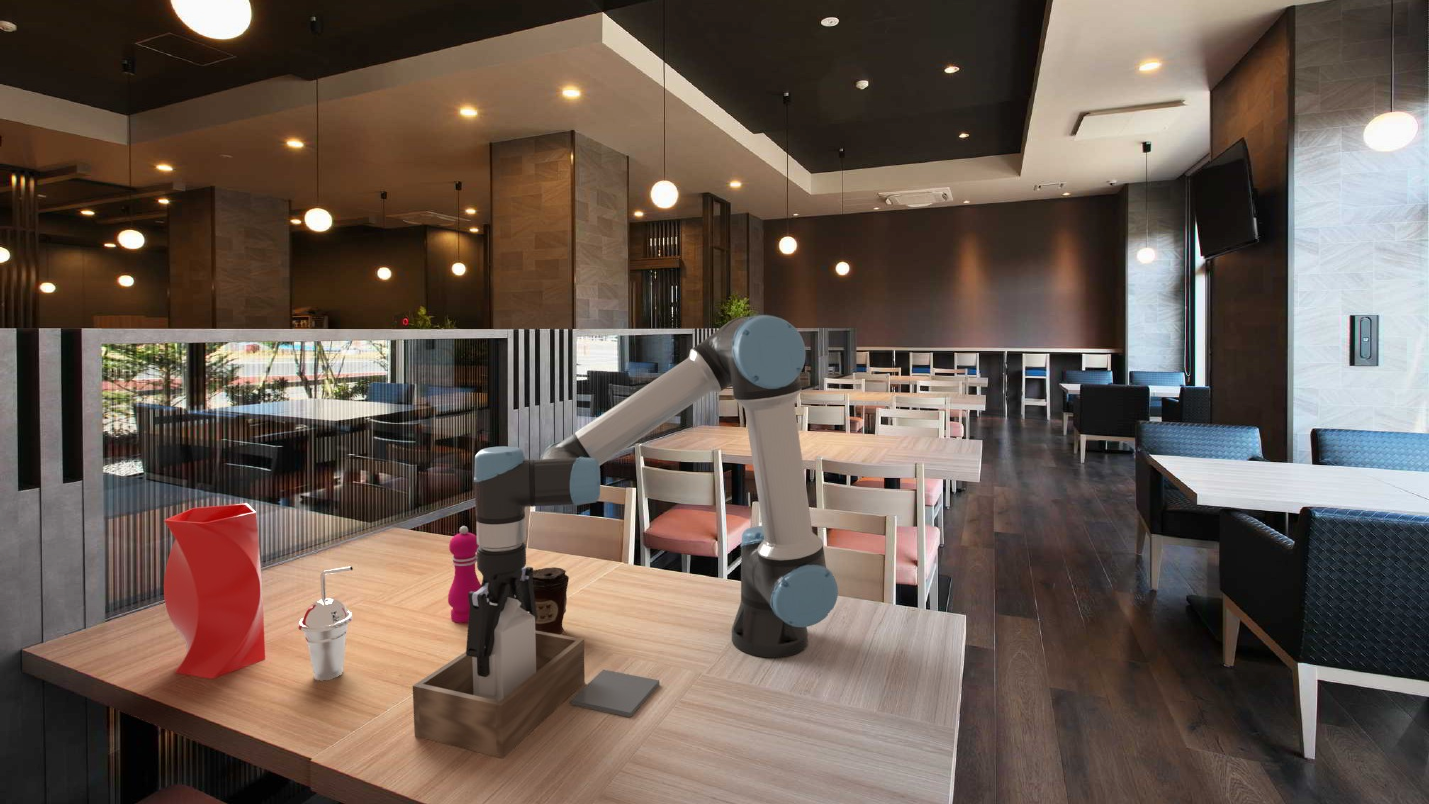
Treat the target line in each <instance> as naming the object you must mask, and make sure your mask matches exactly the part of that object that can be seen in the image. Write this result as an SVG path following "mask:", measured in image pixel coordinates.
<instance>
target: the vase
mask: <svg viewBox="0 0 1429 804" xmlns="http://www.w3.org/2000/svg"><path fill="white" fill-rule="evenodd" d="M163 521H164V523H165V524H166V526H167V528H168V529H169V531H170V532H171V534H172V535H173V537H174V541H173V544H172V546H171V549H170V552H169V556H168V559H167V562H166V567H165V572H164V579H163V598H164V599H163V600H164V604H165V605H164V606H165V609H166V611H167V614H168V618H169V620H170V622H171V623H172V625H173V627H174V628H175V629H176V631H177V632H178V634H179V635H180V636H181V638H182V639H183V640H184V642H185V645H186V653H185V655H184V658H183V659H182V661H181V663H180V664H179V666H178V667H177V668H176V670H175V671H174V673H175V674H180V675H181V674H182V675H187V676H193V677H198V678H199V677H200V678H205V679H210V680H213V679H215V678H218V677H221V676H223V675H227V674H229V673H232V672H234V671H237V670H240V669H243V668H245V667H248V666H251V665H253V664H256V663H259V662H262V661H265V660H266V645H265V643H266V642H265V619H264V601H263V583H262V582H263V580H262V567H261V555H260V553H261V552H260V540H259V530H258V520H257V511H255V509H254V508H252V507H251V505H250V504H249V503H237V504H236V503H235V504H227V505H225V504H224V505H216V506H214V505H213V506H201V507H193V508H190V509H187V510H185V511H183V512H180V513H178V514H176V515H173V516H170V517H168V518H165V519H164V520H163ZM261 660H262V661H261Z"/></svg>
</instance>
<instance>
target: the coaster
mask: <svg viewBox="0 0 1429 804" xmlns="http://www.w3.org/2000/svg"><path fill="white" fill-rule="evenodd" d="M659 686H660V680H659V679H654V678H650V677H649V678H648V677H644V676H638V675H634V674H629V673H624V672H618V671H612V670H608V669H602V670H601V671H599V673H598V674H597V675H595V677H593V679H591V680H590V681H589V682H588V683H587V684H586V685H585V686H584V687H583V688H582V689H581V690H580V691H579V692H577V693H576V694H575V695H574V696H573V697H571V699H570V705H571V706H576V707H580V708H585V709H589V710H595V711H598V712H604V713H609V714H613V715H617V716H622V717H628V718H632V717H633V715H634V714H635V713H636V712H637V711H638V709H640V708H641V706H642V705H643V704H644V703H645V701H647V699H649V697H650V696H651V695H652V694H653V692H654V691H655V690H656V689H657V688H658V687H659Z"/></svg>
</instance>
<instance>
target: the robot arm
mask: <svg viewBox="0 0 1429 804" xmlns="http://www.w3.org/2000/svg"><path fill="white" fill-rule="evenodd" d="M806 357H807V355H806V345H805V342H804V340H803V337H802V335H801V334H800V332H799V330H798V329H797V328H796V327H795V326H794V325H793V324H791V323H790V322H789V321H787V320H786V319H783V318H781V317H777V316H774V315H770V314H758V315H753V316H750V315H749V316H741V317H736V318H734V319H732V320H730V321H728V322H727V323H725V324H723V325H722V326H721V327H720V328H718V329H717V330H716V331H715V332H713V333H712V334H711V335H709V336H708V337H707V338H706V339H704V340H703V341H702V342H700V343H699V344H697V345H696V346H694V347H692V348H691V349H690V350H689V355H688V357H687V358H685V359H684V360H683V361H682V362H680V363H678V364H677V365H675V366H674V367H672V368H670V369H669V370H668V371H666V372H665V373H663V374H661V375H660V376H659V377H656V378H655V379H654V380H652V381H651V382H650V383H648V384H646V385H645V386H644V387H642V388H640V389H639V390H638V391H635V393H632V394H631V395H630V396H628V397H626V398H625V399H623V400H622V401H621V402H619V403H617V404H616V405H615V406H613V407H611V408H610V409H609V410H607V411H605V412H604V413H602V414H601V415H600V416H598V417H596V418H595V419H594V420H592V421H590V422H589V423H587V424H585V425H584V426H583V427H581V428H580V429H578V430H577V431H575V432H574V433H573V434H571V435H569V436H568V437H566V438H565V439H563V440H562V441H558V442H554V443H552V444H550V445H549V446H548V447H546V448H545V449H544V451H543V453H542V454H541V456H540V459H527V458H526V457H525V453H524V450H523V449H522V448H520V447H516V446H504V445H503V446H493V447H485V448H483V449H480V450H478V452H477V453H476V454H475V456H474V477H473V483H474V485H473V486H474V504H475V505H474V506H475V520H476V524H475V525H476V537H477V544H478V545H479V547H478V548H477V552H476V555H477V562H476V567H477V570H478V571H479V572H480V574H481V575H482V581H481V583H480V584H481V588H480V589H479V590H478V591H477V592H472V591H471V592H469V594H468V600H469V606H470V610H469V622H467V623H468V624H467V636H466V637H467V638H466V647H465V648H466V650H465V652H466V655H467V656H472V657H477V674H478V676H479V692H480V693H484V694H489V695H493V696H494V695H495V694H496V693H497V687H496V654H494V653H492V649H493V644H494V640H495V639H494V630H495V628H496V626H497V624H498V621H499V617H500V613H501V612H502V611H503V610H504V606H505V602H506V601H507V597H510V598H514V599H517V600H519V602H521V605H520V608H522V609H523V610H525V611H527V612H528V613H529V612H530V614H531V615H533V616H534V617H535V621H536V620H537V611H536V604H535V596H534V588H533V581H532V580H533V570H534V567H532V566H527V546H526V544H525V543H524V542H525V541H526V539H527V532H526V527H527V526H526V511H525V510H526V507H527V508H528V507H529V508H530V507H531V508H533V507H550V506H555V507H556V506H581V505H587V504H593V503H597V502H598V501H599V499H600V497H601V468H600V466H601V465H603V464H604V463H606V462H607V461H609V460H611V459H612V458H614V457H615V456H617V455H618V454H620V453H621V452H623V451H624V450H626V449H627V448H629V447H630V446H631V445H633V444H635V443H636V442H637V441H639V440H640V439H641V440H642V438H644V437H645V436H646V435H649V434H650V433H651V432H653V431H654V430H656V429H657V428H658V427H660V426H661V425H663V424H665V423H666V422H667V421H669V420H670V419H672V418H673V417H675V416H676V415H678V414H679V413H681V412H683V411H685V410H686V409H687V408H689V406H691V405H693V404H694V403H696V402H698V401H699V400H700V399H702V398H703V397H705V396H706V395H707V394H709V393H711V392H713V393H714V392H715V393H721V392H722V391H724V390H725V389H726V388H727V389H728V387H730V386H732V388H731V389H732V393H733V394H732V395H733V400H734V401H735V402H736V403H738V404H739V405H740V406H742V407H743V409H744V413H745V420H746V426H747V434H748V440H749V446H750V453H751V461H752V467H753V474H754V479H755V487H756V493H757V498H758V499H757V501H758V505H759V513H760V519H761V525H760V526H759V525H758V526H751V527H749V528H746V529H745V530H744V531H743V532H742V535H741V544H740V550H741V551H740V552H741V553H740V558H741V559H740V560H741V561H740V565H741V566H740V568H741V569H740V603H739V607H738V609H737V613H736V616H735V619H734V620H733V624H732V627H731V642H732V644H733V645H734V646H735V647H736V648H737V649H738V650H739V651H741V652H743V653H746V654H749V655H752V656H756V657H763V658H786V657H789V656H790V657H791V656H793V655H796V654H800V653H801V652H803V650H805V649H804V648H807V646H808V644H807V643H808V642H809V641H808V640H809V639H808V638H809V637H808V636H809V633H808V628H809V627H812V626H814V625H817V624H819V623H821V622H822V621H823V620H825V619H826V618H827V617H828V616H829V614H830V613H831V611H832V610H834V607H835V606H836V603H837V601H838V598H839V597H838V595H839V587H838V583H837V580H836V578H835V576H834V574H833V572H832V571H831V570H829V569H828V568H827V564H826V556H825V549H824V543H823V539H821V538H820V537H819V536H818V535H817V534H815V533H814V532H813V527H812V521H811V518H812V517H811V514H810V513H811V511H810V505H809V499H808V497H809V496H808V491H807V490H808V489H807V484H806V476H805V470H804V462H803V455H802V449H801V441H800V434H799V426H798V419H797V413H796V412H797V411H796V406H795V400H796V399H797V397H798V396H799V394H800V393H801V392H802V386H801V384H802V383H801V376H800V373H801V372H802V370H803V368H804V365H805V362H806ZM525 458H526V459H525ZM490 602H491V603H495V604H498V605H497V606H496V605H491V604H490Z"/></svg>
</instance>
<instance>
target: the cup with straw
mask: <svg viewBox="0 0 1429 804" xmlns="http://www.w3.org/2000/svg"><path fill="white" fill-rule="evenodd" d="M353 569H354V568H353V566H344V567H339V568H334V569H328V570H323V571H322V572H321V573H320V595H321V599H319V600H316V601H315V602H313V603H312V604H311V605H310V606H308V608H307V609H306V611H305V612H304V615H303V617H302V618H300V620H299V621H298V626H297V628H298V630H300V631H301V632H303V635H304V638H305V641H306V643H307V646H308V647H307V648H308V653H309V658H310V663H311V667H312V673H313V674H314V676H313V678H314V680H316V681H319V680H320V681H319V682H321V681H322V682H323V680H326V681H331V680H334V679H336V678H335V677H337V678H338V676H339V675H340V676H341V675H343V673H344V670H343V667H344V664H345V651H346V639H347V634H348V629H349V624H350V623H351V622H352V621H353V619H354V616H353V614H352V612H351V610H349V609H348V608H347V607H346V605H345V604H344V602H343V601H340V600H338V599H335V598H332V597H328V598H327V594H326V592H327V590H326V589H327V588H326V575H332V574H338V573H344V572H351V571H353ZM342 672H343V673H342ZM340 676H339V677H340ZM333 678H334V679H333Z"/></svg>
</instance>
